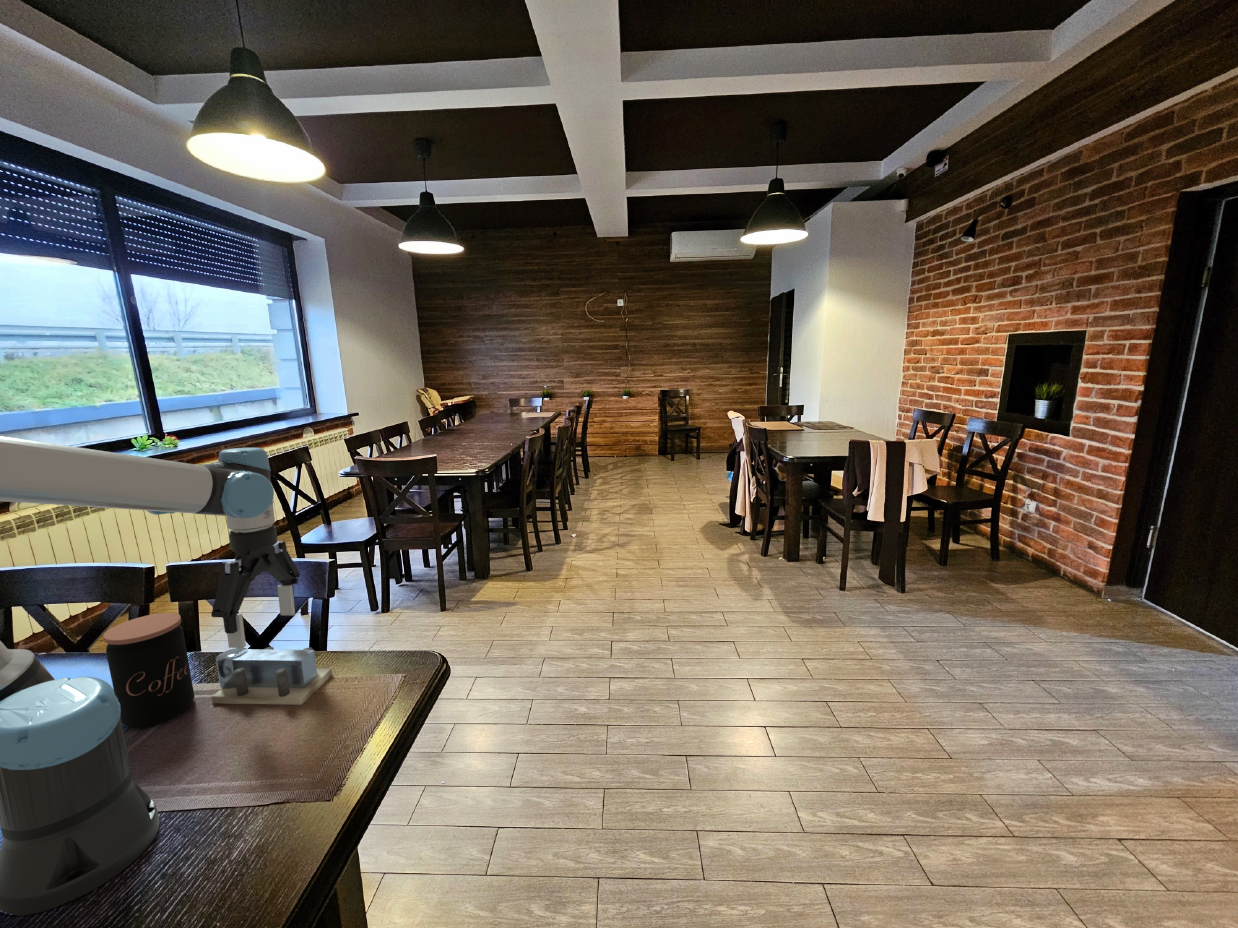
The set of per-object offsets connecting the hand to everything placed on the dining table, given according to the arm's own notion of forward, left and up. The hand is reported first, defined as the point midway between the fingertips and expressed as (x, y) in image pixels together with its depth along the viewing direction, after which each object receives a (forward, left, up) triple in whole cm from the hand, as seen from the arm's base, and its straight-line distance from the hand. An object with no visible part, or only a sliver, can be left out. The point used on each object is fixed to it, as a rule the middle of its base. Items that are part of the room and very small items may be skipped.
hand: (264, 629), depth 101 cm
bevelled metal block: (0, +1, -12) cm, 12 cm away
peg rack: (0, 0, -13) cm, 13 cm away
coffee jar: (-8, +17, -14) cm, 23 cm away
